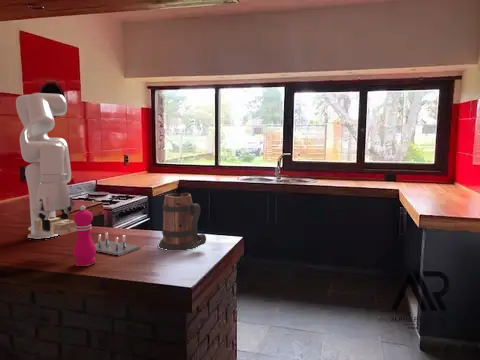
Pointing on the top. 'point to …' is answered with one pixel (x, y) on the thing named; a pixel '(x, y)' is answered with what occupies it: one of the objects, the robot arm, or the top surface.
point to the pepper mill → (84, 238)
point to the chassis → (114, 246)
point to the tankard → (180, 223)
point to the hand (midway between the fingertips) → (55, 227)
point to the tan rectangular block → (57, 226)
